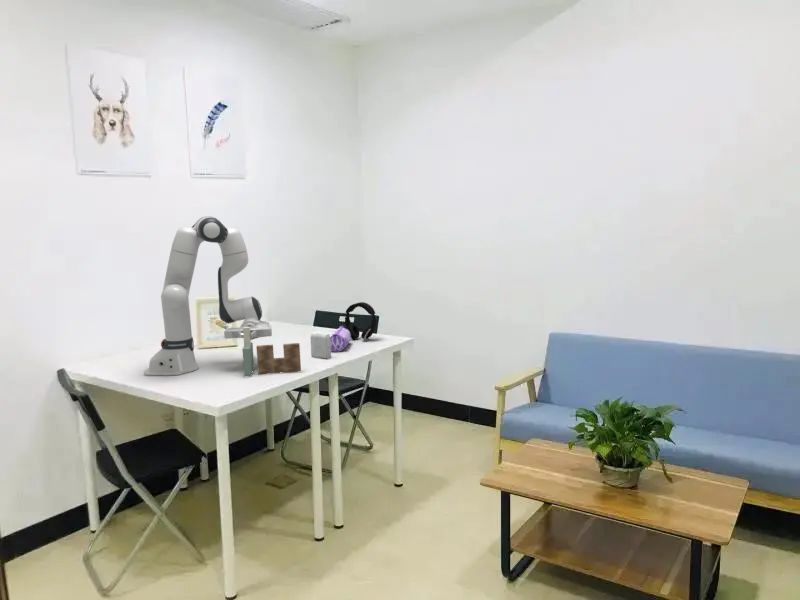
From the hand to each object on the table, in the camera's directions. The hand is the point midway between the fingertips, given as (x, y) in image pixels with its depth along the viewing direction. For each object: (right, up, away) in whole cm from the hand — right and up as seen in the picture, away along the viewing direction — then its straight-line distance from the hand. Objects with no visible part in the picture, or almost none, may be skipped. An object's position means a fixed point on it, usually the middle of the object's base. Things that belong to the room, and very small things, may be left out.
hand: (246, 335), depth 264 cm
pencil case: (+35, -9, +47) cm, 60 cm away
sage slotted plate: (0, -16, +3) cm, 17 cm away
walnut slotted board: (+14, -16, +3) cm, 21 cm away
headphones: (+45, -6, +63) cm, 77 cm away
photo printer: (+28, -12, +28) cm, 41 cm away
